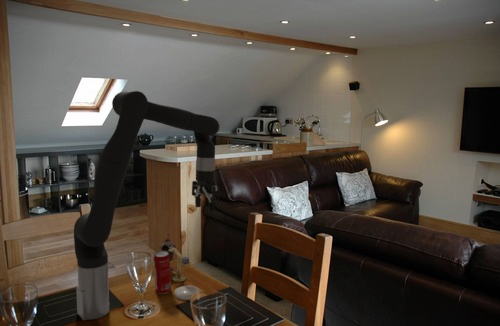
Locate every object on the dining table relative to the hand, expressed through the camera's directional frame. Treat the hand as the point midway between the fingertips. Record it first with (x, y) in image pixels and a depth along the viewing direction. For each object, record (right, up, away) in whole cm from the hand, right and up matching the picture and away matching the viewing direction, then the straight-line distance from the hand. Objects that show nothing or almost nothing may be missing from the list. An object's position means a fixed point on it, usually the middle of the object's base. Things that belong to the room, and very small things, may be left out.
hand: (204, 209), depth 155 cm
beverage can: (-15, -30, -8) cm, 34 cm away
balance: (-10, -28, +2) cm, 30 cm away
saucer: (-5, -30, -10) cm, 32 cm away
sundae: (-17, -27, +11) cm, 34 cm away
